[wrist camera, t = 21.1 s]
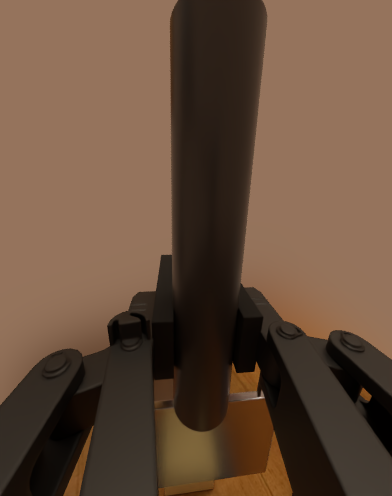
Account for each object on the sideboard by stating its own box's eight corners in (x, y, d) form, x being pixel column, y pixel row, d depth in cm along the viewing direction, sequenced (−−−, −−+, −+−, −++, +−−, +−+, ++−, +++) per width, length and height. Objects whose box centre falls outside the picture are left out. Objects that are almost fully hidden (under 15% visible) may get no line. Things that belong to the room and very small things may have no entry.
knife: (117, 528, 9) (24, -55, 4) (129, 457, 12) (84, 43, 6) (274, 501, 10) (395, 4, 5) (255, 441, 13) (317, 69, 7)
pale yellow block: (215, 466, 19) (208, 419, 23) (163, 473, 18) (165, 424, 22) (213, 489, 20) (207, 440, 24) (164, 496, 20) (166, 446, 23)
